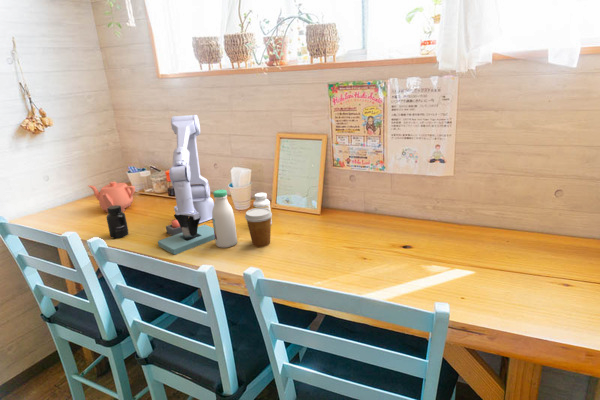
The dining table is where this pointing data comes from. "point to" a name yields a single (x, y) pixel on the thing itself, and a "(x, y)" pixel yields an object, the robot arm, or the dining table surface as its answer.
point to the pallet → (179, 245)
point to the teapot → (114, 195)
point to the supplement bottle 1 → (117, 222)
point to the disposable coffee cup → (259, 226)
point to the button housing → (173, 230)
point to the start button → (175, 223)
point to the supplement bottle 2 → (261, 201)
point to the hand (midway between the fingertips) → (189, 233)
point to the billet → (187, 233)
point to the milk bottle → (223, 220)
